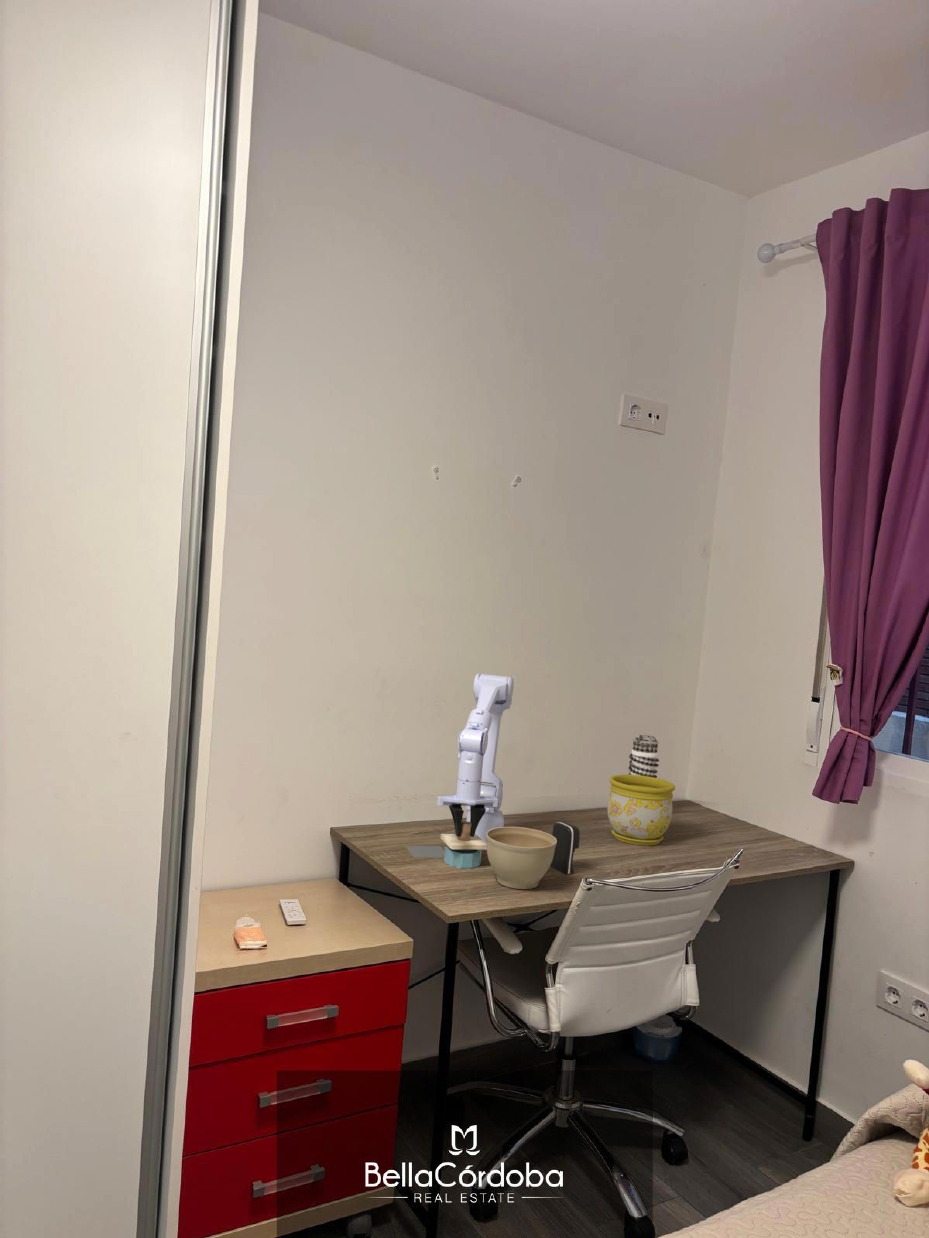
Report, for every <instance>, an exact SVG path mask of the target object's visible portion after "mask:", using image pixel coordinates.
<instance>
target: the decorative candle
mask: <svg viewBox="0 0 929 1238" xmlns="http://www.w3.org/2000/svg"><path fill="white" fill-rule="evenodd" d="M632 741H633V742H632V749H631V753H630V754H629V756H628V758H629V759H630V760H629V762H628V764H629V766H628V771H629V772H628V774H627V775H640V776H648V777H654V778H658V776H657V773H658V770H657V769H656V768H657V767H660V766H659V763H658V762H659V761H660V759H659V758H658V754H659V752H658V748H659V744H660V742H659V741H658V739H656V737H655V736H654V735H653V736H652V735H646V734H638V735H636V736H635V737H634V738H633V739H632Z"/></svg>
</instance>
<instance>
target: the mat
mask: <svg viewBox="0 0 929 1238" xmlns="http://www.w3.org/2000/svg"><path fill="white" fill-rule="evenodd" d="M405 849H407V850H408V852H409V854H410V855H411V856H412V857H413V858H444V855H445V849H443V848H442V846H441V845H405Z"/></svg>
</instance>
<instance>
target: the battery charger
mask: <svg viewBox="0 0 929 1238" xmlns="http://www.w3.org/2000/svg"><path fill="white" fill-rule="evenodd" d="M551 835H552V836H553V837H555V838H556V840H557V844H556V847H555V852H554V856H553V860H552V862H551V865H550V867H551V868H552V869H554V870H556V871H557V872H560V873H562V874H565V875H570V874H574V873H575V869H574V866H573V861H574V853H575V852H576V850H577V849H579V848H580V847H579V846H580V838H581V836H580V835H581V832H580V829H579V828H578V827H577V826H576V825H575V824H574V825H573V824H572V823H568V822H566V821H563V822H562V821H561V822H560V821H559V822H555V823H554V824H553V827H552V834H551ZM550 867H549V868H550Z"/></svg>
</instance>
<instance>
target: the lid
mask: <svg viewBox="0 0 929 1238" xmlns="http://www.w3.org/2000/svg"><path fill="white" fill-rule="evenodd" d="M471 826H472V823H470V822H466V820H465V821H464V820H462V823H461V836H460V837H457V836H456V835H455V833H440V837H439V838H440V839H441V840H442V841H443V843H444V844H446V846H447V845H448V846H449V847H450V848H451V849H481V850H487V844H486V843H485V842H484V841H483V840H482V839H481V838H480V837H478V836H477V835H476V834H475V835H474V837H471Z"/></svg>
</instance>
